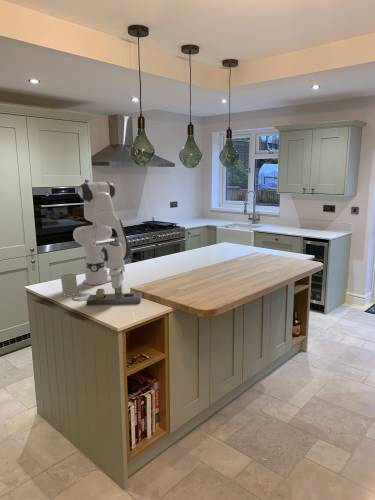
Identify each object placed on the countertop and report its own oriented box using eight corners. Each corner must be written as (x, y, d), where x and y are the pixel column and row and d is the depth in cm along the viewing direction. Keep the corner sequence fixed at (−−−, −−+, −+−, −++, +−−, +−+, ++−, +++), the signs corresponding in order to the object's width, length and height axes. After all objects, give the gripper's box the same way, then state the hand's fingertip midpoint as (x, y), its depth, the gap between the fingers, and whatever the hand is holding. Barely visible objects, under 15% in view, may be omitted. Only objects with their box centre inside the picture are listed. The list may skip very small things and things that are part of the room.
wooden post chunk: (116, 295, 232) (115, 283, 231) (122, 295, 232) (122, 283, 231) (115, 297, 228) (114, 285, 227) (121, 297, 228) (120, 285, 227)
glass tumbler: (74, 290, 247) (72, 272, 244) (80, 293, 240) (78, 274, 237) (60, 293, 241) (58, 275, 238) (66, 296, 234) (64, 277, 231)
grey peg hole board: (91, 299, 227) (90, 294, 226) (142, 297, 227) (141, 292, 226) (87, 305, 217) (86, 300, 216) (140, 303, 217) (139, 297, 217)
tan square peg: (98, 301, 224) (97, 288, 222) (105, 300, 224) (104, 288, 222) (97, 303, 220) (95, 290, 218) (104, 303, 220) (102, 290, 218)
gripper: (114, 265, 237) (116, 286, 240) (108, 273, 217) (110, 297, 220) (124, 264, 237) (126, 286, 240) (119, 273, 217) (121, 296, 220)
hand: (119, 291), depth 230 cm, fingers open, 4 cm apart
